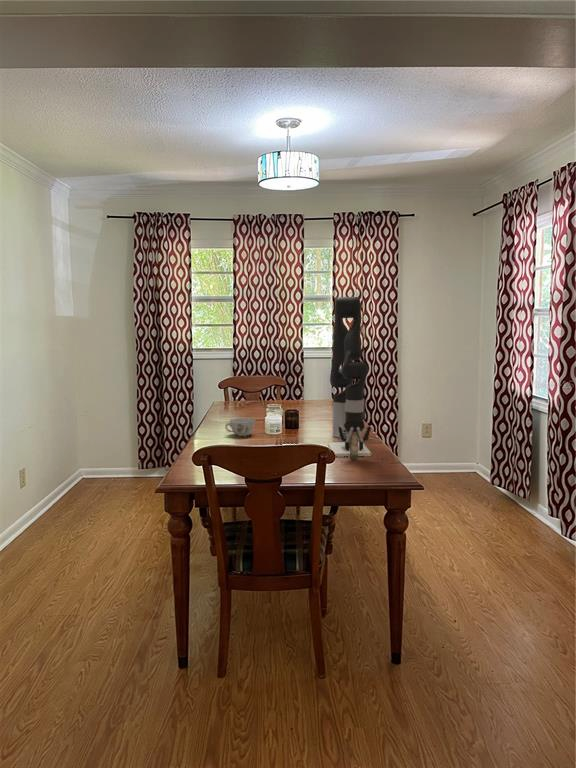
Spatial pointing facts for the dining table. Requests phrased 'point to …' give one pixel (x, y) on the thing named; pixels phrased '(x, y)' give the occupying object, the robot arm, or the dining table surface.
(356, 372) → the robot arm
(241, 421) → the teacup
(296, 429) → the dining table surface
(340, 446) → the cup bracket
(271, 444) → the dining table surface
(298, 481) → the dining table surface
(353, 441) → the rail post
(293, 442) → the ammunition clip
